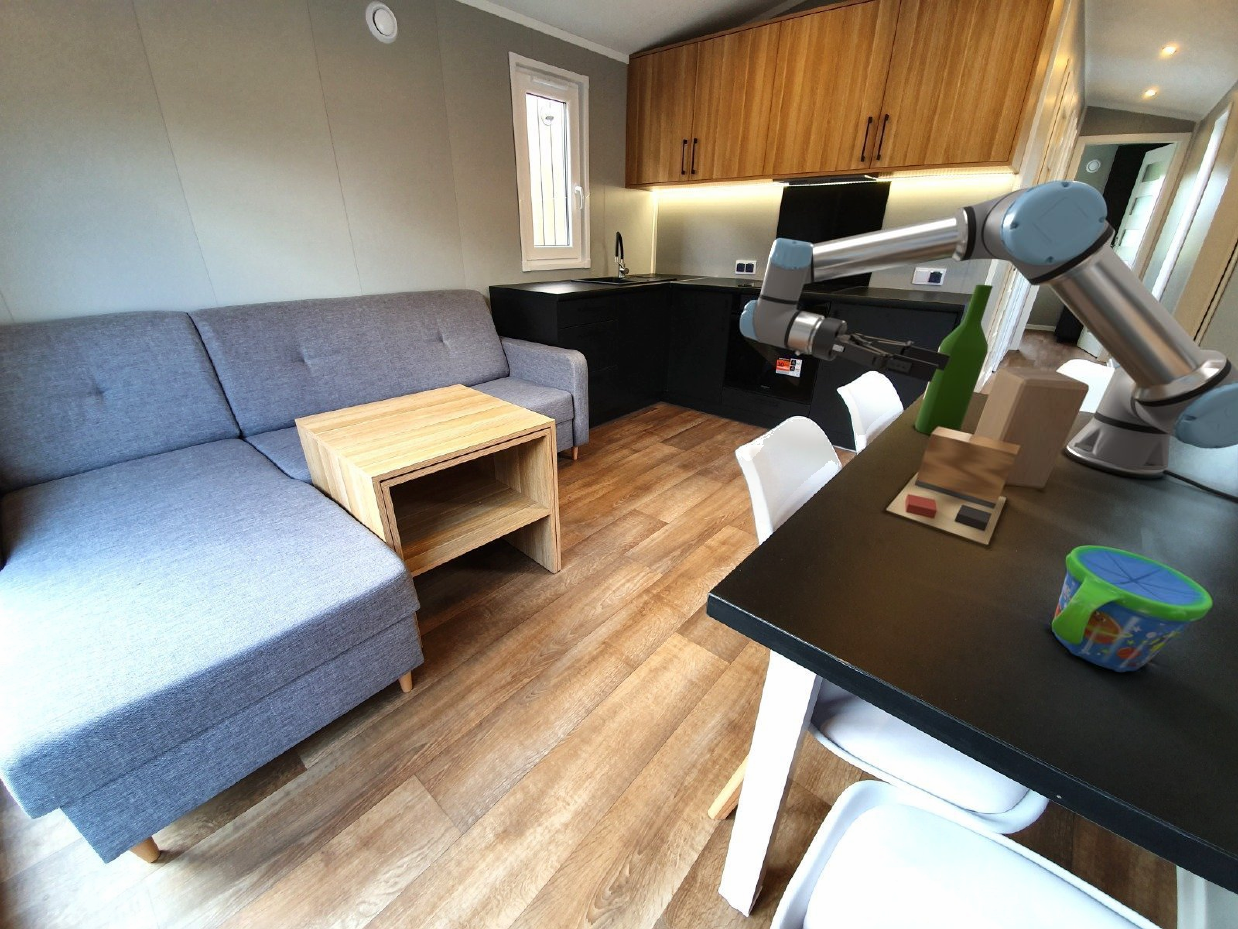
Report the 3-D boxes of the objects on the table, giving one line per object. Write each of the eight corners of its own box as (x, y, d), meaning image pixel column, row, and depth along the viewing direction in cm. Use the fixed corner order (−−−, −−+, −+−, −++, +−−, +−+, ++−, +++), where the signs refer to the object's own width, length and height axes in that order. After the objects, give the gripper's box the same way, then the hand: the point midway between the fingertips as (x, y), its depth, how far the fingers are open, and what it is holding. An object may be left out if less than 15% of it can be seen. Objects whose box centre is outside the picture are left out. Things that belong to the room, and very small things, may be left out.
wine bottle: (921, 421, 121) (966, 282, 107) (963, 432, 115) (1015, 286, 101) (908, 429, 116) (953, 283, 102) (951, 441, 110) (1004, 288, 96)
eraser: (998, 498, 84) (1020, 445, 80) (993, 509, 81) (1016, 454, 77) (921, 476, 92) (938, 426, 87) (914, 484, 88) (931, 433, 84)
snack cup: (1095, 606, 60) (1135, 537, 56) (1203, 674, 51) (1261, 598, 47) (993, 623, 57) (1027, 551, 53) (1089, 700, 48) (1141, 620, 43)
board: (1005, 500, 85) (1006, 497, 85) (986, 547, 71) (987, 544, 71) (916, 474, 93) (917, 472, 93) (884, 512, 80) (885, 509, 80)
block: (1044, 492, 88) (1094, 384, 80) (984, 485, 90) (1026, 379, 82) (1016, 468, 97) (1058, 369, 89) (961, 463, 99) (997, 365, 90)
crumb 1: (932, 507, 81) (935, 499, 80) (933, 518, 78) (936, 510, 77) (905, 501, 82) (907, 493, 82) (905, 512, 79) (908, 504, 79)
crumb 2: (988, 521, 77) (991, 513, 77) (984, 531, 75) (987, 523, 74) (959, 512, 80) (962, 504, 79) (954, 521, 77) (957, 513, 76)
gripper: (832, 349, 104) (942, 378, 93) (787, 363, 86) (917, 402, 75) (844, 313, 101) (960, 339, 90) (800, 320, 83) (938, 354, 71)
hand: (941, 368), depth 82 cm, fingers open, 13 cm apart
